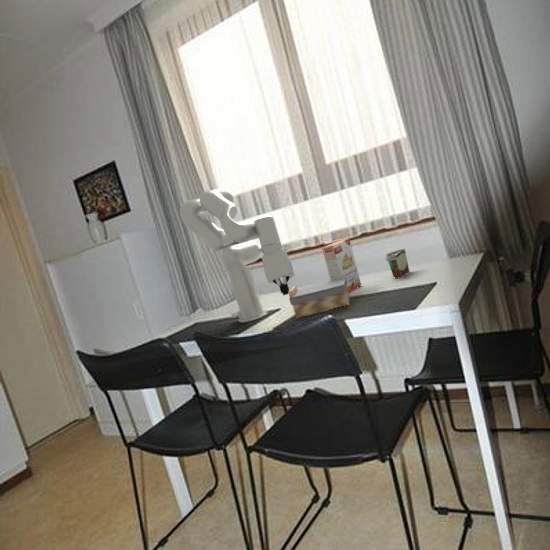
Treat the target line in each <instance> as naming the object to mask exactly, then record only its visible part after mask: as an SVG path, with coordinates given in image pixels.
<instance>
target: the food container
mask: <svg viewBox="0 0 550 550" xmlns="http://www.w3.org/2000/svg"><path fill="white" fill-rule="evenodd" d="M406 253H407V251H406V249H405V248H402V249H398V250H394V251H390V252H389V253H386V255H385V261H386V262H387V263H388V264H389V265H388V266H389V268H390V271H391V273H392V277H393V278H394V277H395V278H394V279H399V278H398V277H402V276H404V275H405V274H406V273H408V272H409V273H410V268H409V263H408V258H407V255H406ZM409 273H408V274H409ZM406 275H407V274H406ZM406 275H405V276H406ZM405 276H404V277H405ZM402 278H403V277H402Z"/></svg>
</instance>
